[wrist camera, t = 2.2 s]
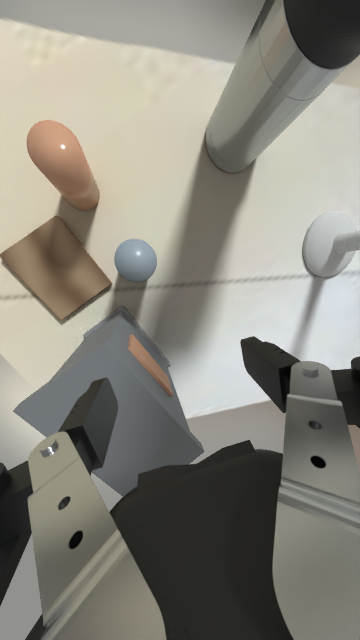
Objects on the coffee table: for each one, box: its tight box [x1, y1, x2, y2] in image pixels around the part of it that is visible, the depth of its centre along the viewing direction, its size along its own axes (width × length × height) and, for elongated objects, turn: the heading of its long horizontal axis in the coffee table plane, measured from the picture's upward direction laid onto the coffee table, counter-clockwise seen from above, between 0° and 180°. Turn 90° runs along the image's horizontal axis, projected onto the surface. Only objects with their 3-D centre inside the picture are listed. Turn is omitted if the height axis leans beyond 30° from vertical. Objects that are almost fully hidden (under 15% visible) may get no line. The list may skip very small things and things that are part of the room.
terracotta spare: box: [27, 120, 100, 210], centre depth 24 cm, size 5×5×10 cm
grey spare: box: [115, 239, 157, 282], centre depth 28 cm, size 5×5×10 cm
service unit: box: [13, 306, 204, 497], centre depth 26 cm, size 8×14×20 cm, turn 35°
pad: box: [0, 215, 112, 320], centre depth 30 cm, size 10×12×1 cm
